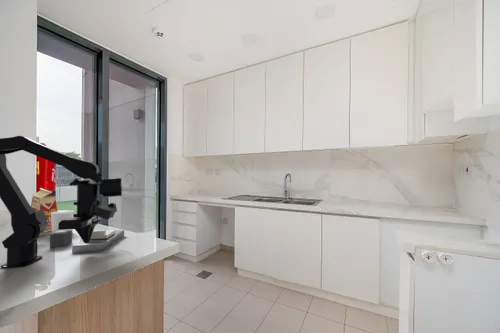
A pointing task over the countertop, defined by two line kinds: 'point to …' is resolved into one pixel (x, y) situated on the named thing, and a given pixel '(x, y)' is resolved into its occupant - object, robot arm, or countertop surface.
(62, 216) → the white cup
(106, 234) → the panel
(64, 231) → the plug
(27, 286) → the countertop surface
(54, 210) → the milk carton
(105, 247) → the socket plate
